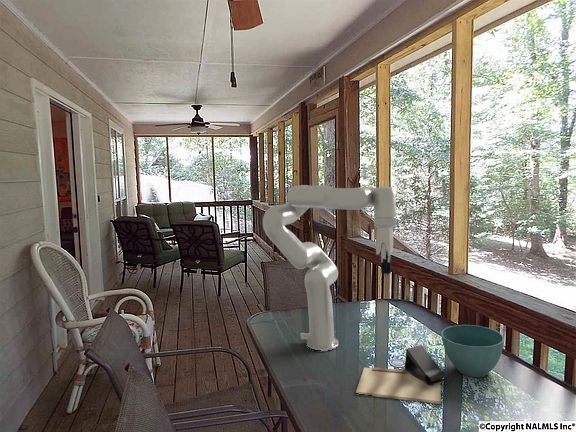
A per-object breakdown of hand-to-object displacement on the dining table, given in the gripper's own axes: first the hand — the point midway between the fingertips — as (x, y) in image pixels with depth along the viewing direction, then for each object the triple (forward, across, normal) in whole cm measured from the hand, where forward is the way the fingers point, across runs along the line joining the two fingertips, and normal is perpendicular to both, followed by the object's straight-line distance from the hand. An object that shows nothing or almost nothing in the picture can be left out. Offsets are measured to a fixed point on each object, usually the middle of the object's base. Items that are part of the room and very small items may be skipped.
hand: (386, 272), depth 145 cm
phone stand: (+26, +11, +9) cm, 29 cm away
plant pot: (+30, +7, +28) cm, 41 cm away
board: (+30, +22, +6) cm, 37 cm away
